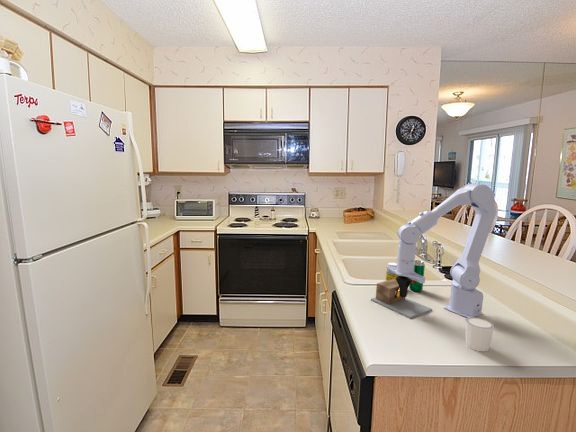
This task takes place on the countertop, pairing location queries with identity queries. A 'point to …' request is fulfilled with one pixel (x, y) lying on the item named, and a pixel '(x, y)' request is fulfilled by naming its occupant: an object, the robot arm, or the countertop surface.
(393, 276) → the supplement bottle
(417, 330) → the countertop surface
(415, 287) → the soda can
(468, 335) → the white cup
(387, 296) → the bearing block
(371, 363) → the countertop surface
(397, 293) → the shaft
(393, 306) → the base plate
